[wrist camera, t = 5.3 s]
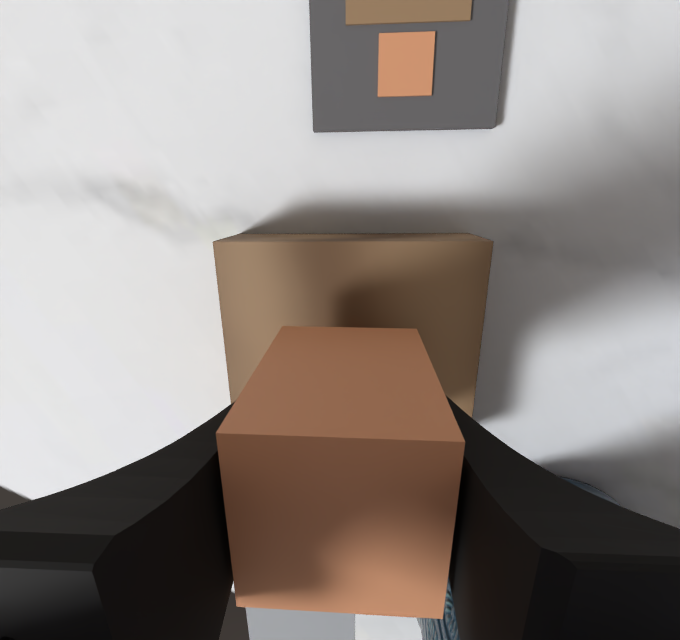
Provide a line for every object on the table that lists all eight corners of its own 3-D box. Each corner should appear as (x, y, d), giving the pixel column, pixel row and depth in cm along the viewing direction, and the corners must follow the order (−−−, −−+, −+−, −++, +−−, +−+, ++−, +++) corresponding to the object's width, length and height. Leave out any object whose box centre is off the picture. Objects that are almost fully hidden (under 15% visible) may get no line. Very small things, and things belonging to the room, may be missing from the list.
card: (512, -67, 13) (518, -77, 12) (491, 128, 14) (496, 126, 14) (309, -57, 13) (306, -67, 12) (314, 132, 15) (312, 130, 14)
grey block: (356, 472, 20) (355, 580, 14) (356, 535, 22) (354, 657, 16) (274, 470, 20) (241, 575, 15) (279, 532, 22) (251, 651, 16)
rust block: (416, 328, 12) (464, 442, 7) (408, 443, 14) (442, 619, 8) (282, 326, 12) (215, 432, 7) (287, 438, 14) (236, 606, 8)
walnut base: (466, 232, 16) (493, 241, 13) (446, 427, 19) (464, 475, 16) (241, 233, 17) (212, 241, 13) (258, 423, 20) (238, 468, 17)
